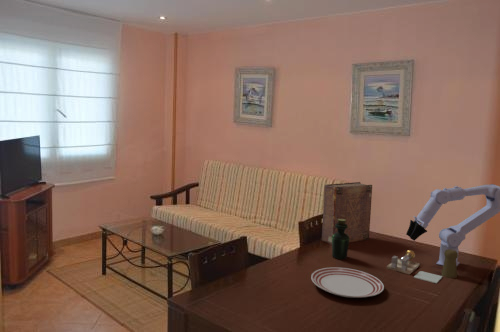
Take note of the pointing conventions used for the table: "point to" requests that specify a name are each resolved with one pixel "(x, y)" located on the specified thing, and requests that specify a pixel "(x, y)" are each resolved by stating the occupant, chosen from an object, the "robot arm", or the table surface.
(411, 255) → the shaft
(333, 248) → the potion bottle
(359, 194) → the book
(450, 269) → the olive stepped cylinder
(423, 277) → the pale green mat
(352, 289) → the dinner plate
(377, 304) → the table surface
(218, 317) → the table surface
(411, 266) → the shaft bracket
